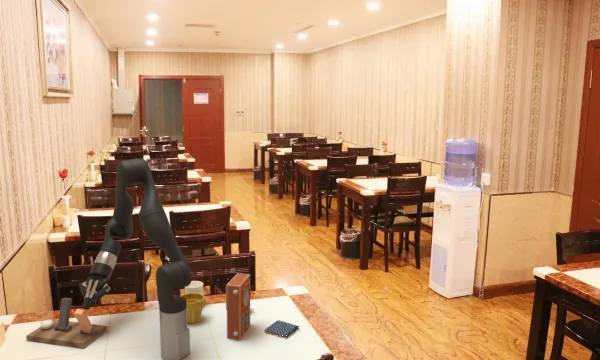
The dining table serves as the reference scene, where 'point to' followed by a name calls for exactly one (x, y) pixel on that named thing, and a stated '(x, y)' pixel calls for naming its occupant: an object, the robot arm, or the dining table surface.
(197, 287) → the white cup
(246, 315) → the control panel
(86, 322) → the orange block
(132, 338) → the dining table surface
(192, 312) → the plant pot
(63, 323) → the long grey beam
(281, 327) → the woven mat
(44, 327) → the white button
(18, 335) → the dining table surface
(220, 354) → the dining table surface
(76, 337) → the switch board
